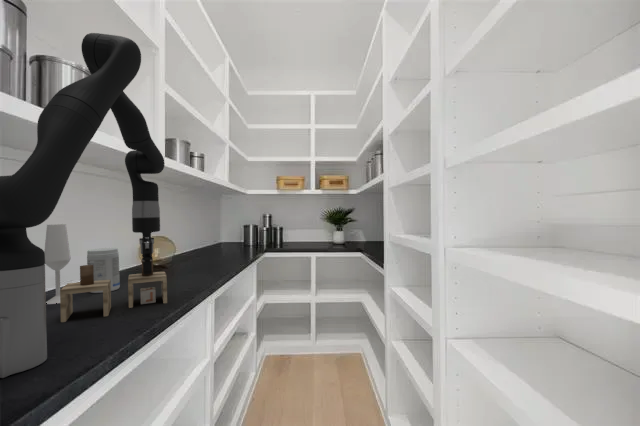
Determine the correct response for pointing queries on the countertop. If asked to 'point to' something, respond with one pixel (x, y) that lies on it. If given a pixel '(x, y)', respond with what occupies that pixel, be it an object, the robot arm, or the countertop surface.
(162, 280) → the oak cover
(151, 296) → the letter cube
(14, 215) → the robot arm
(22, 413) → the countertop surface
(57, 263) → the champagne flute
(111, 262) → the supplement tub
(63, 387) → the countertop surface
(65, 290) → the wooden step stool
